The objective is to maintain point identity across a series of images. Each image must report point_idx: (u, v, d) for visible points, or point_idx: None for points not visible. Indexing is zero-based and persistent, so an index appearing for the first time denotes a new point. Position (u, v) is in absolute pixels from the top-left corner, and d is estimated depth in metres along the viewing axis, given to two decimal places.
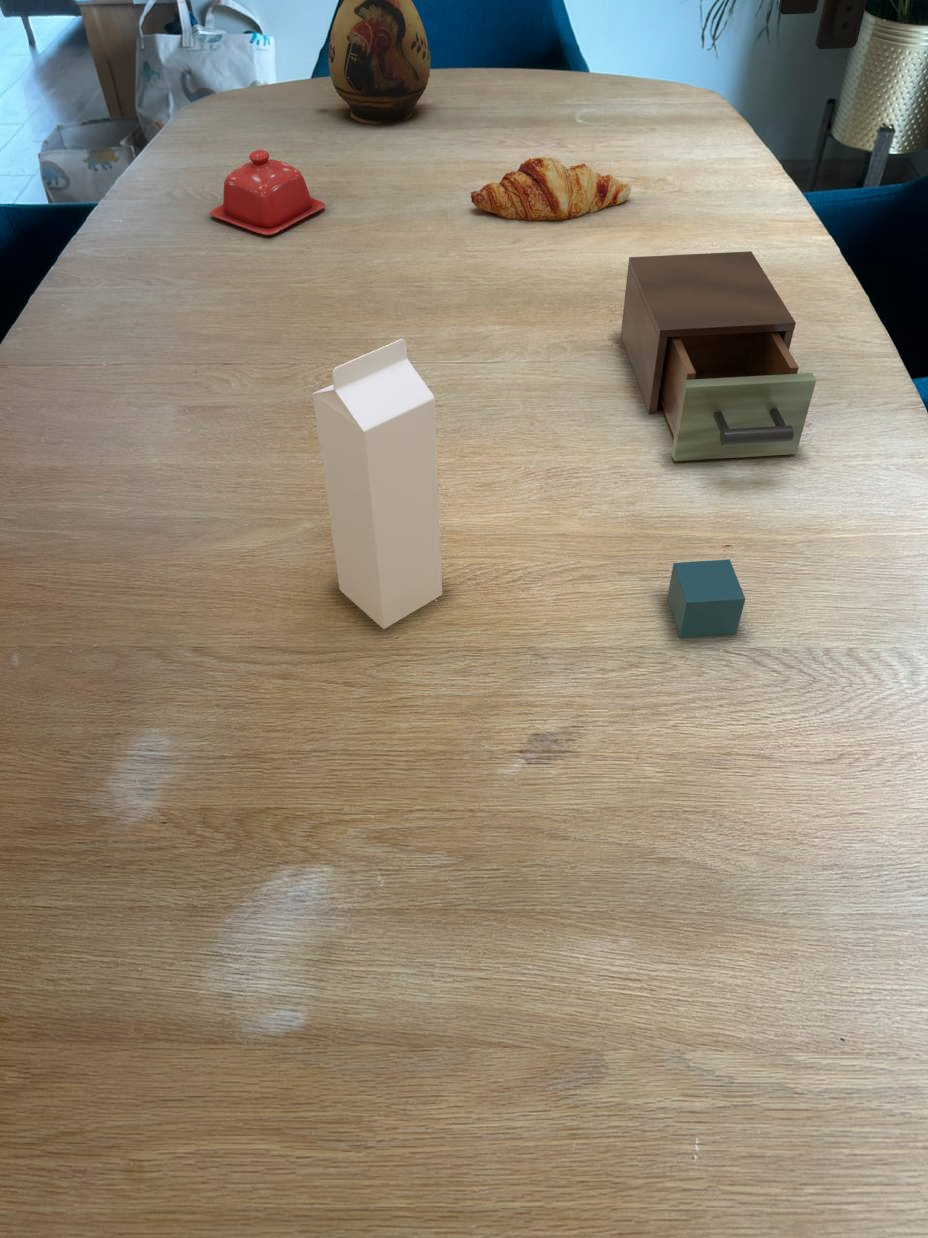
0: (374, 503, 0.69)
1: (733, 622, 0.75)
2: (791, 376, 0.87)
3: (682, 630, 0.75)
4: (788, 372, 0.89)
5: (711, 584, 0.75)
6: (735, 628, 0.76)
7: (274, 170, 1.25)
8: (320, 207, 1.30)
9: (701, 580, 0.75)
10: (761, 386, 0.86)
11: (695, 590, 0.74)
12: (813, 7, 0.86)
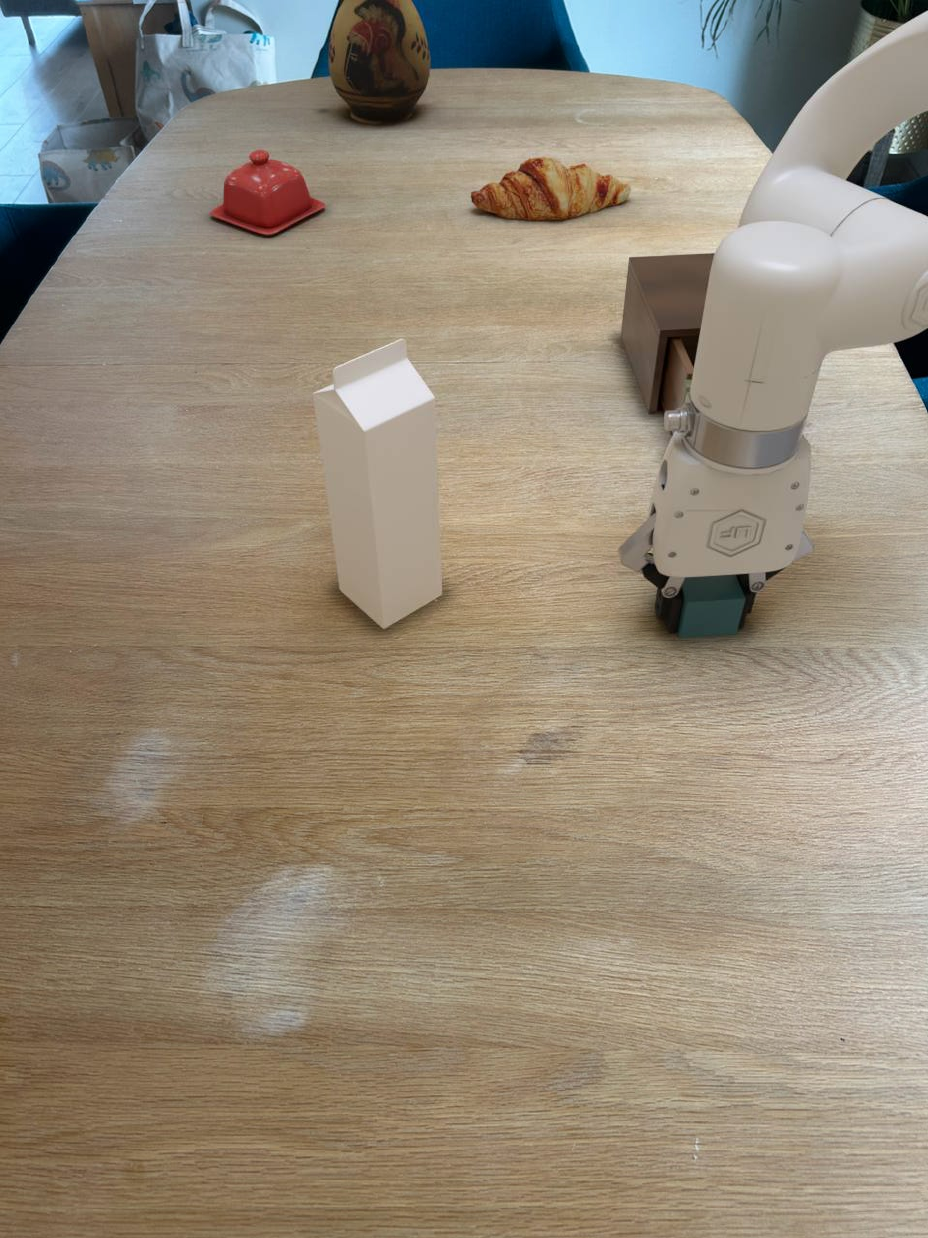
0: (374, 503, 0.69)
1: (733, 622, 0.75)
2: None
3: (682, 630, 0.75)
4: None
5: (711, 584, 0.75)
6: (735, 628, 0.76)
7: (274, 170, 1.25)
8: (320, 207, 1.30)
9: (701, 580, 0.75)
10: None
11: (695, 590, 0.74)
12: None
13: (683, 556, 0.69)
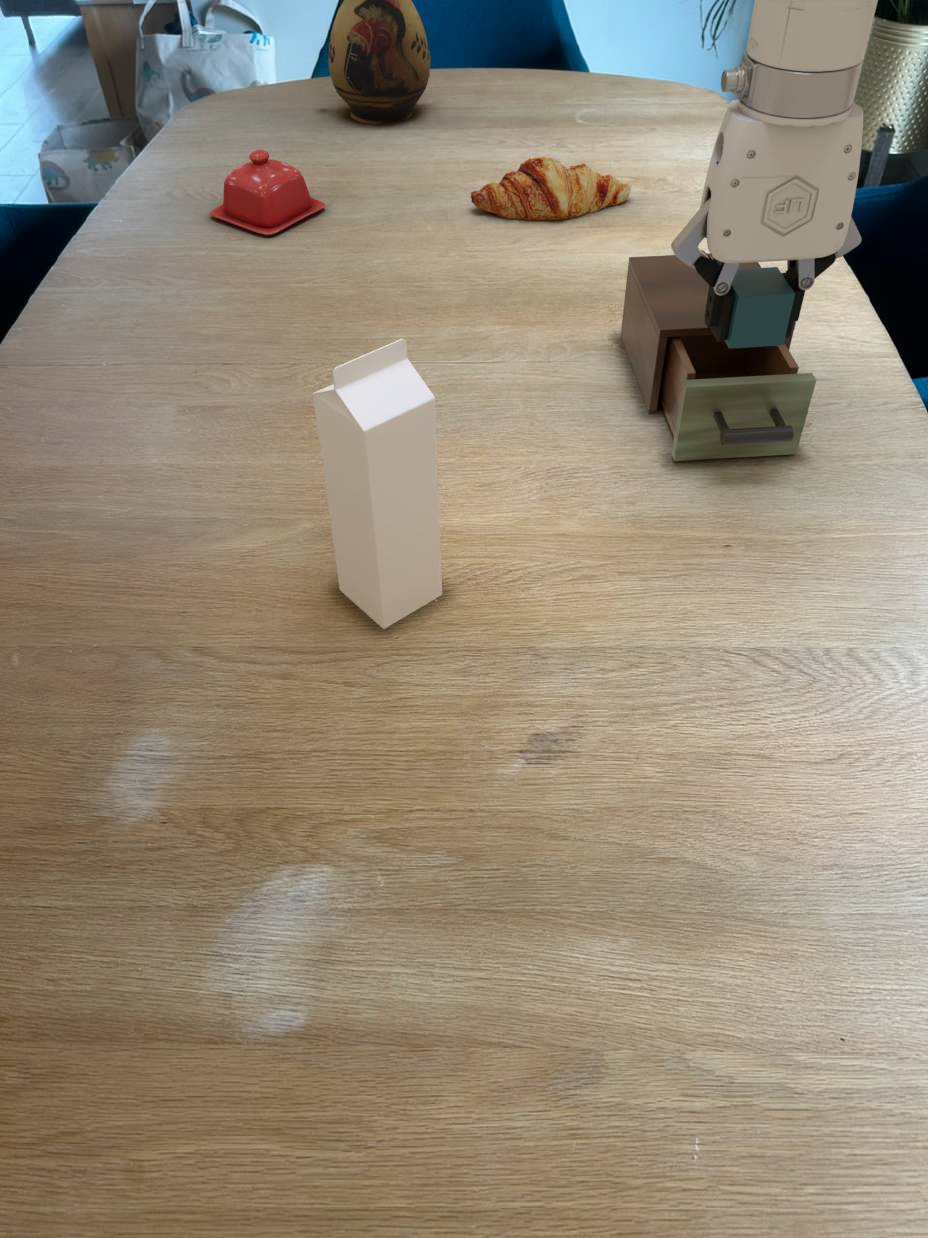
0: (374, 503, 0.69)
1: (782, 323, 0.77)
2: (791, 376, 0.87)
3: (733, 332, 0.78)
4: (788, 372, 0.89)
5: (761, 283, 0.77)
6: (784, 330, 0.78)
7: (274, 170, 1.25)
8: (320, 207, 1.30)
9: (751, 281, 0.77)
10: (761, 386, 0.86)
11: (746, 288, 0.76)
12: None
13: (738, 234, 0.71)
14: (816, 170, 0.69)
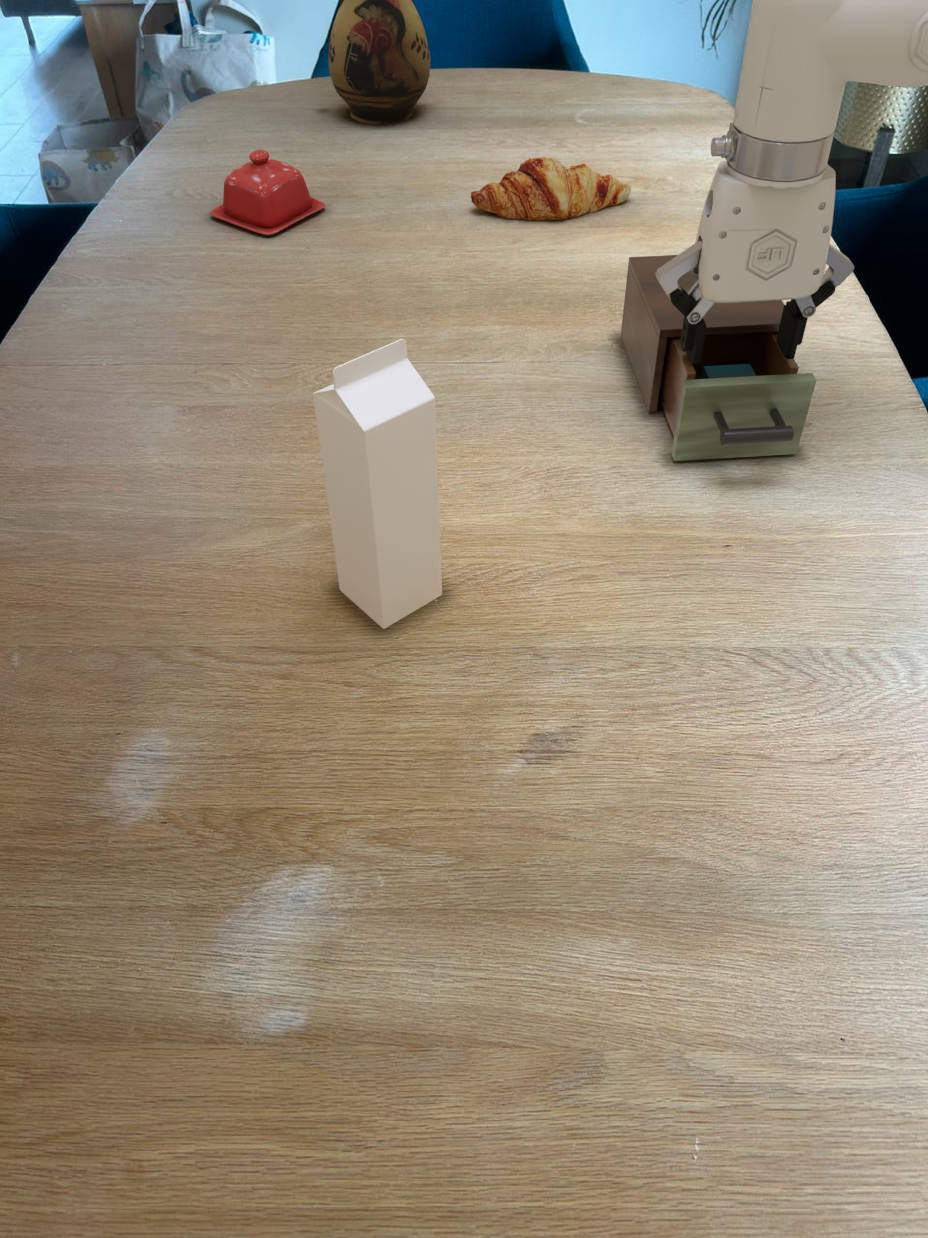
0: (374, 503, 0.69)
1: None
2: (791, 376, 0.87)
3: None
4: (788, 372, 0.89)
5: None
6: None
7: (274, 170, 1.25)
8: (320, 207, 1.30)
9: (726, 377, 0.91)
10: (761, 386, 0.86)
11: None
12: (785, 353, 0.88)
13: (726, 278, 0.81)
14: (794, 224, 0.78)
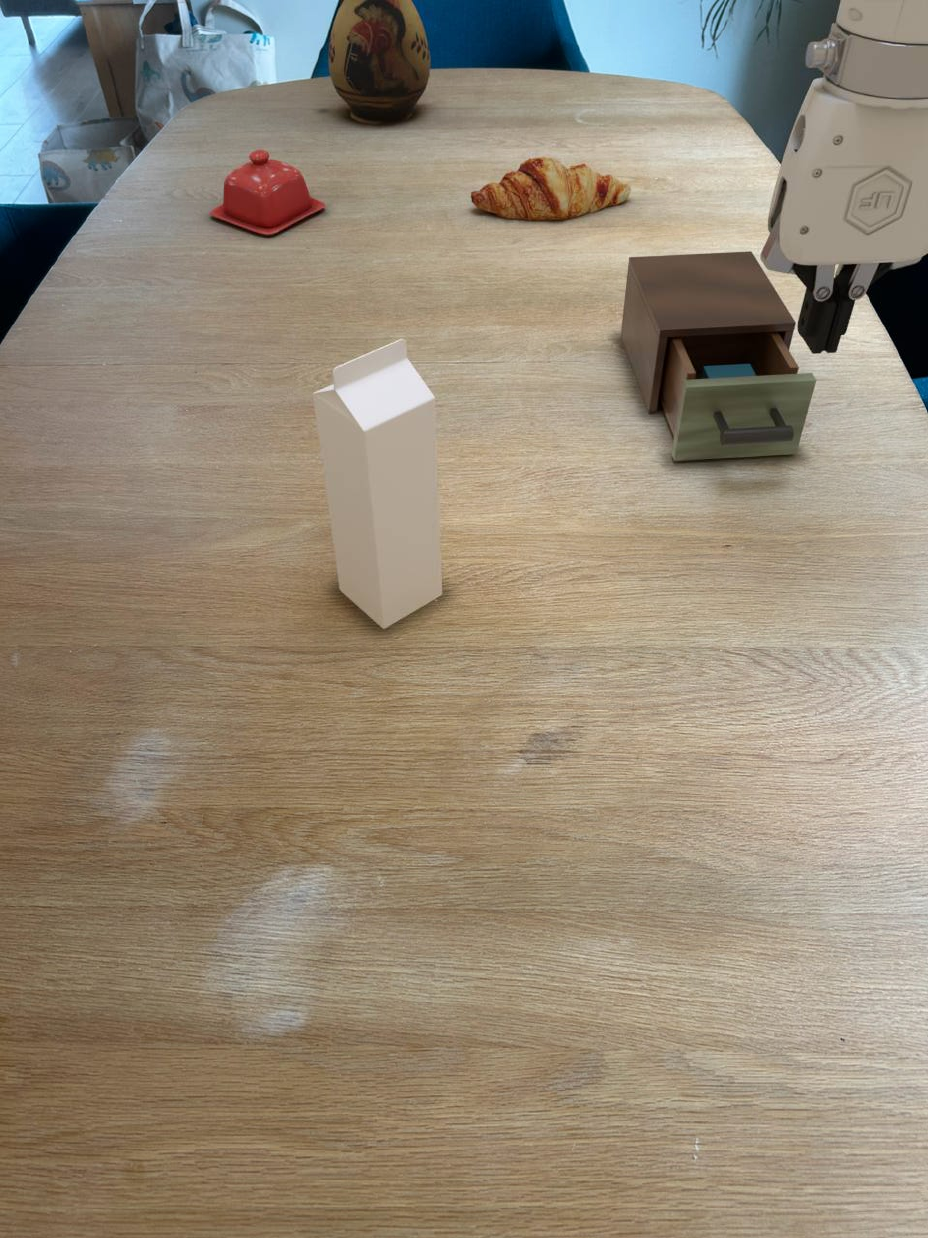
0: (374, 503, 0.69)
1: None
2: (791, 376, 0.87)
3: None
4: (788, 372, 0.89)
5: None
6: None
7: (274, 170, 1.25)
8: (320, 207, 1.30)
9: (726, 377, 0.91)
10: (761, 386, 0.86)
11: None
12: (825, 346, 0.70)
13: (816, 232, 0.63)
14: (911, 160, 0.60)
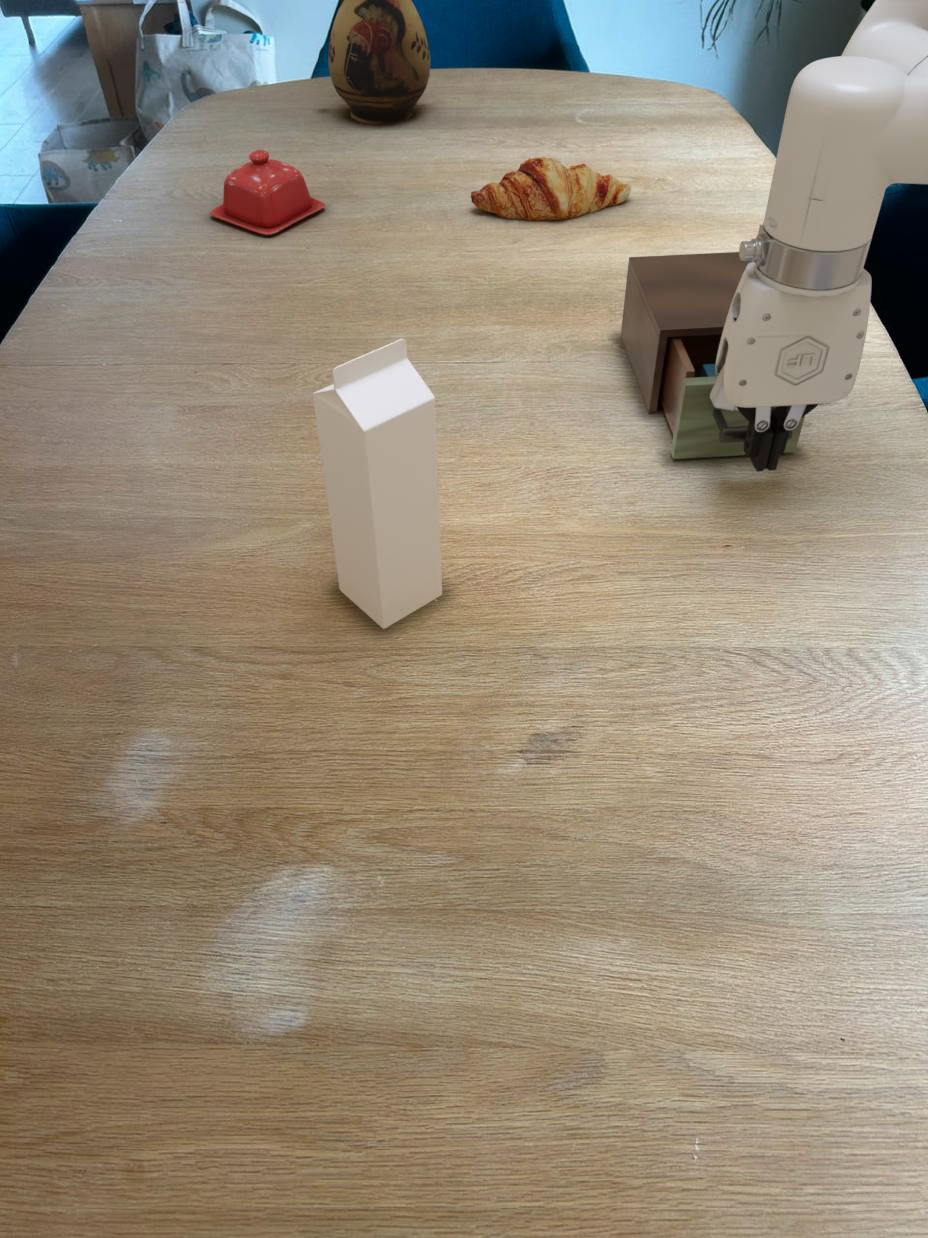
0: (374, 503, 0.69)
1: None
2: None
3: None
4: None
5: None
6: None
7: (274, 170, 1.25)
8: (320, 207, 1.30)
9: None
10: None
11: None
12: (766, 465, 0.84)
13: (753, 384, 0.76)
14: (827, 330, 0.73)
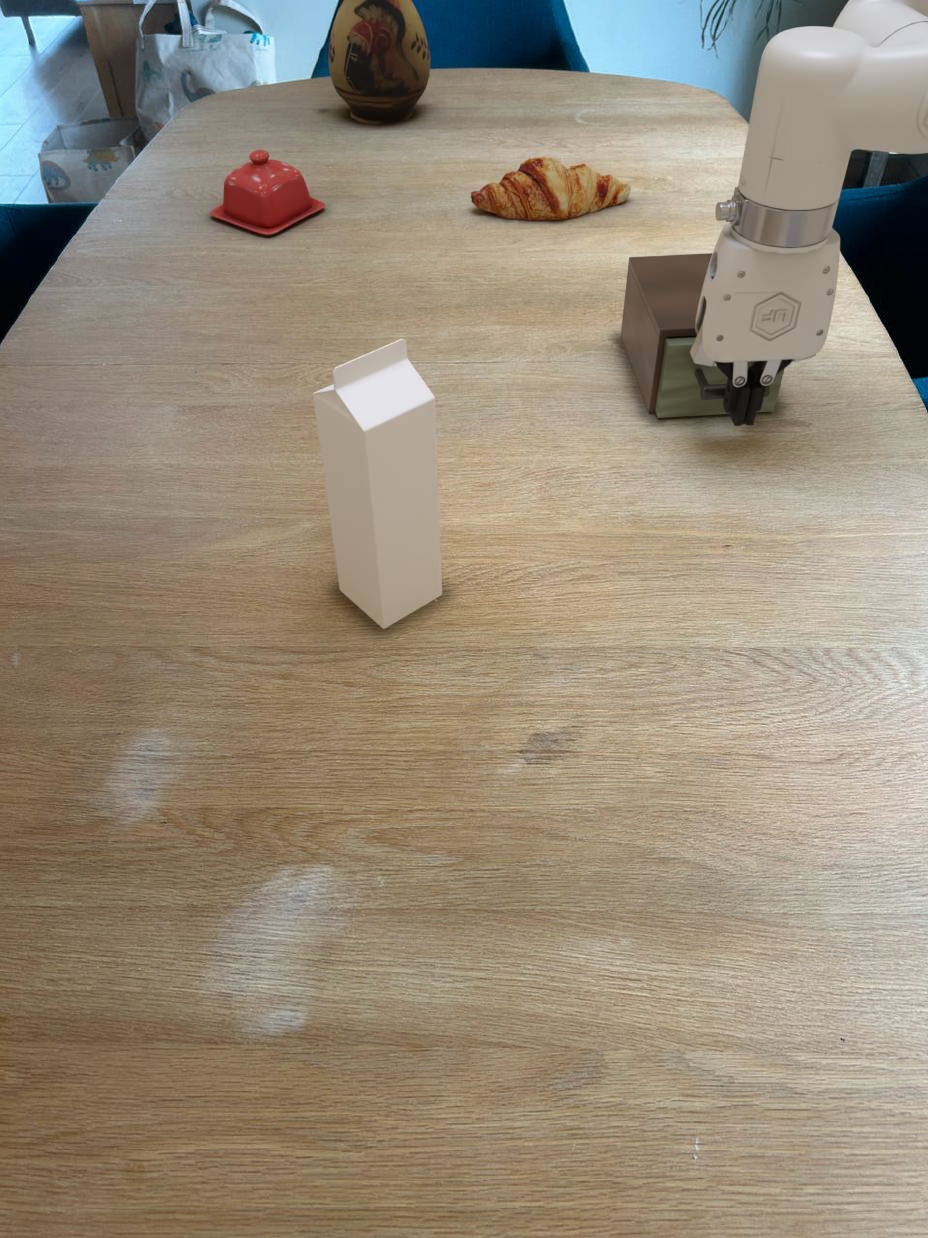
0: (374, 503, 0.69)
1: None
2: None
3: None
4: None
5: None
6: None
7: (274, 170, 1.25)
8: (320, 207, 1.30)
9: None
10: None
11: None
12: (744, 419, 0.89)
13: (729, 339, 0.81)
14: (798, 287, 0.78)
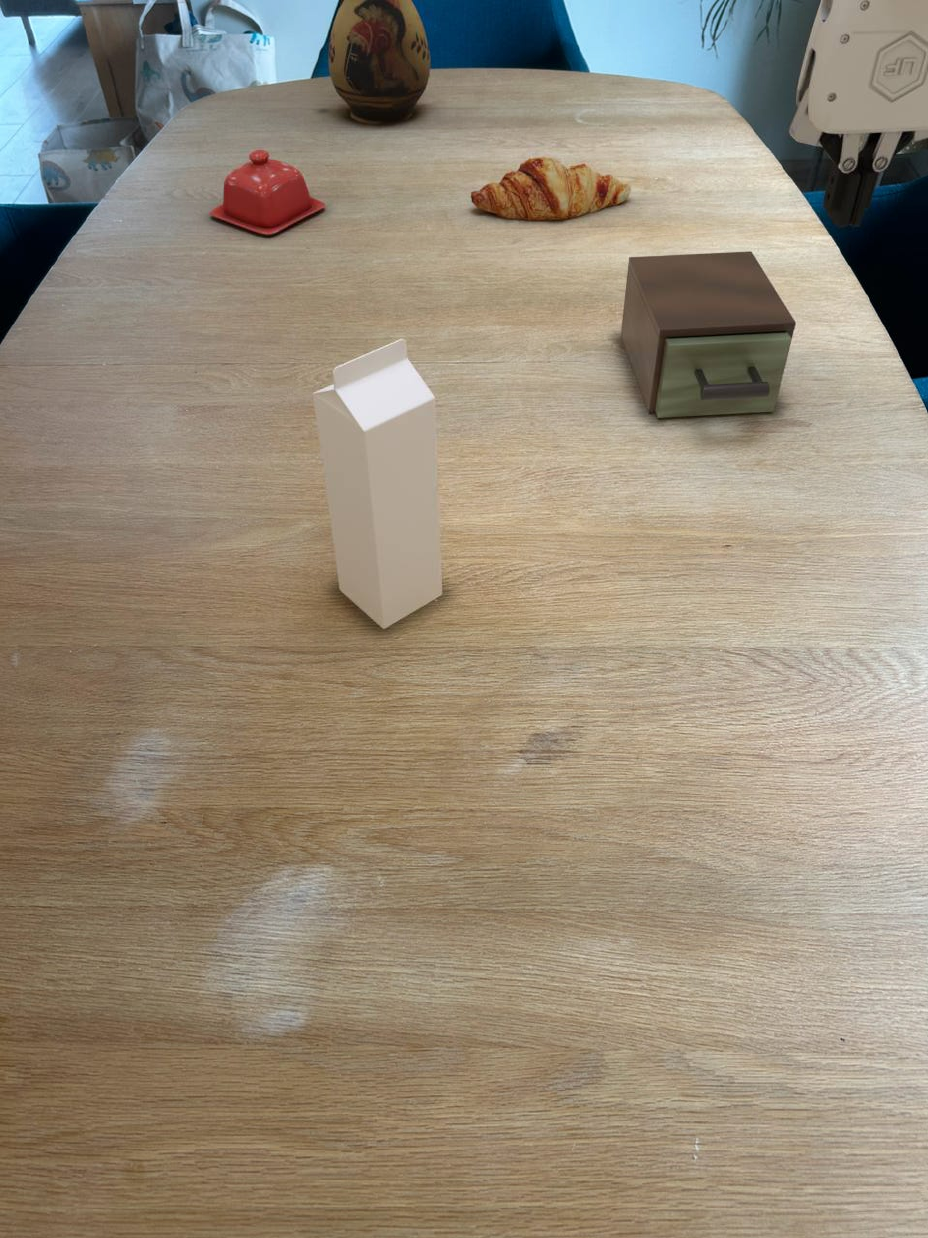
0: (375, 503, 0.69)
1: None
2: (767, 335, 0.92)
3: None
4: (765, 332, 0.93)
5: None
6: None
7: (274, 170, 1.25)
8: (320, 207, 1.30)
9: None
10: (739, 344, 0.91)
11: None
12: (850, 219, 0.74)
13: (843, 99, 0.67)
14: None
